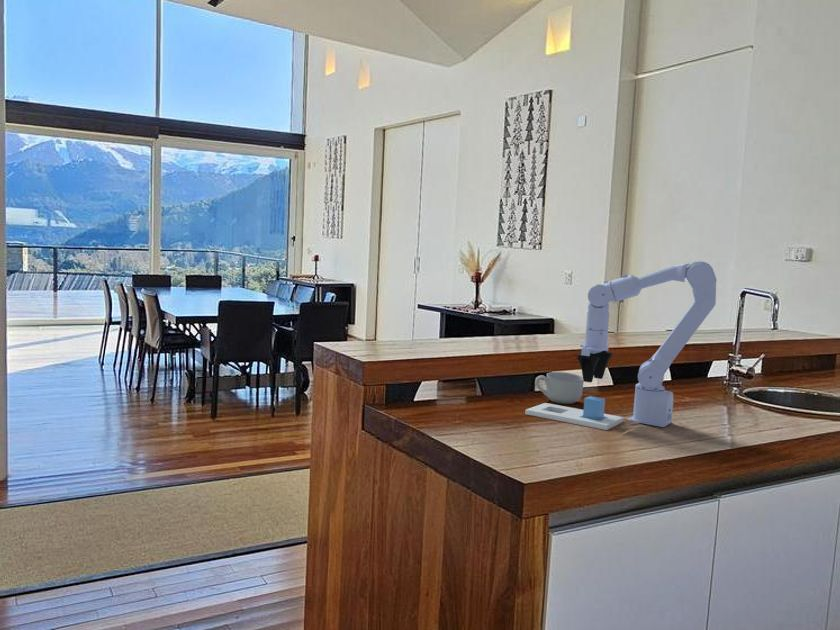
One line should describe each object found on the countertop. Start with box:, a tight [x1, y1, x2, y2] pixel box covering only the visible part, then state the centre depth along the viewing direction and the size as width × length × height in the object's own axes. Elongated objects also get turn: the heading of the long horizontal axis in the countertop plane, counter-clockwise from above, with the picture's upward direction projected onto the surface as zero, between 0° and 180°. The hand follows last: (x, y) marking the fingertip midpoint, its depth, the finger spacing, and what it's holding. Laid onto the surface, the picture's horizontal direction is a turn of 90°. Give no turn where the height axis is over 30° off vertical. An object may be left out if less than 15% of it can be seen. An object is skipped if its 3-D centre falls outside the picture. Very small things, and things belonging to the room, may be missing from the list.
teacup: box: [534, 371, 584, 405], centre depth 205 cm, size 14×11×8 cm
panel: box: [524, 402, 625, 431], centre depth 185 cm, size 22×12×2 cm, turn 55°
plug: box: [583, 395, 606, 421], centre depth 181 cm, size 4×4×6 cm
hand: (593, 380), depth 191 cm, fingers open, 7 cm apart
